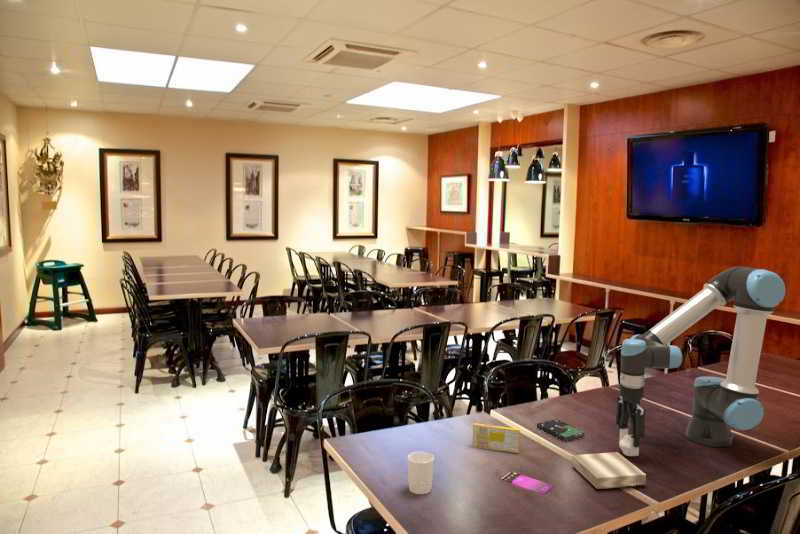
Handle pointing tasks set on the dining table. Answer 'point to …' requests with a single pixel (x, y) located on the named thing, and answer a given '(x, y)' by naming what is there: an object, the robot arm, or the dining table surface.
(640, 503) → the dining table surface
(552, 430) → the disk drive
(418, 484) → the white cup
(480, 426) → the candy box
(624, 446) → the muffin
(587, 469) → the beige satin panel
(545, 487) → the smartphone
